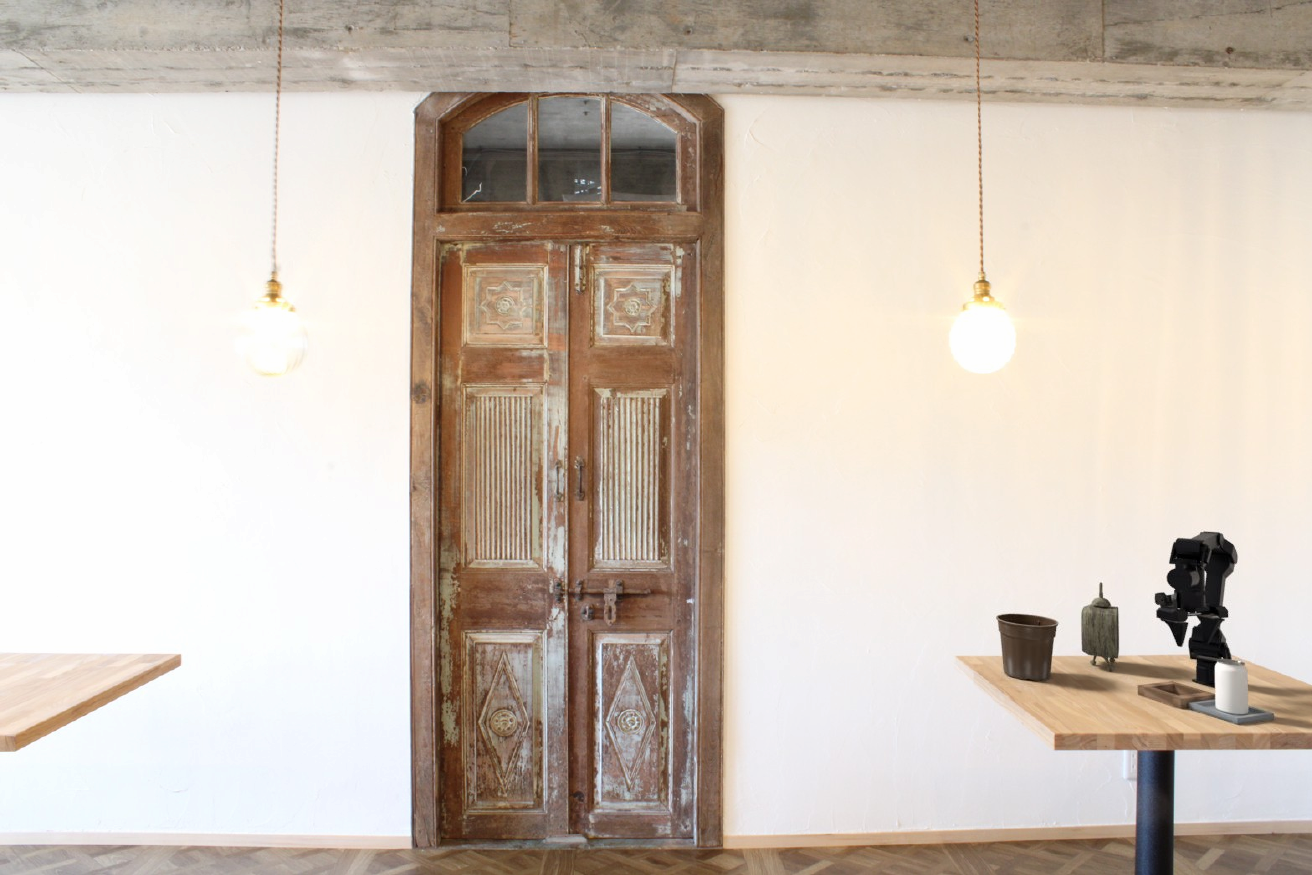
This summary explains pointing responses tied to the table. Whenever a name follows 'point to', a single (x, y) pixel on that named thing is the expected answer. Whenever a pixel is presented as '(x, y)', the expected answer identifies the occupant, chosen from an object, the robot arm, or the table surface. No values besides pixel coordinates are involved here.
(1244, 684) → the can
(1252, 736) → the table surface
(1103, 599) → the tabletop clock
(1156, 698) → the wooden square frame
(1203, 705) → the tray
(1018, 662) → the plant pot
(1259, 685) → the table surface
